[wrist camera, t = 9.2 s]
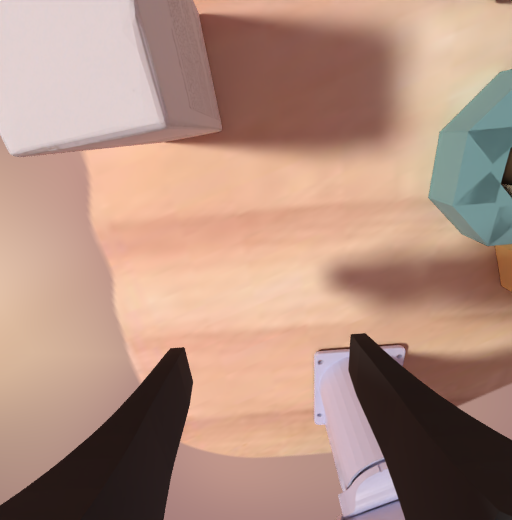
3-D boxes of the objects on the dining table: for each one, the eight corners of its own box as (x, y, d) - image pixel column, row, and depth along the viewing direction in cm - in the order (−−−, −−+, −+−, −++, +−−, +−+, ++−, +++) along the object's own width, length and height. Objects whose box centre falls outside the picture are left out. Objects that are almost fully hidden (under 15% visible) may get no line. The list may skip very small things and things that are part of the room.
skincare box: (124, 28, 15) (-224, -268, 4) (199, 11, 15) (47, -357, 4) (159, 146, 17) (3, 162, 6) (224, 133, 17) (177, 126, 6)
